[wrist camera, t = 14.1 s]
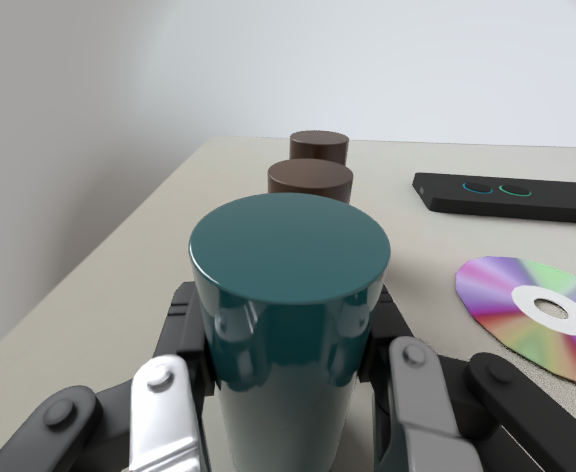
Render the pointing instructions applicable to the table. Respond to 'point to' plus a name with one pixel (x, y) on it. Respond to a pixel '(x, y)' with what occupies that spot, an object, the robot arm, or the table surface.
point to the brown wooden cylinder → (311, 178)
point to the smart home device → (497, 196)
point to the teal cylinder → (287, 321)
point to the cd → (523, 308)
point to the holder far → (319, 146)
